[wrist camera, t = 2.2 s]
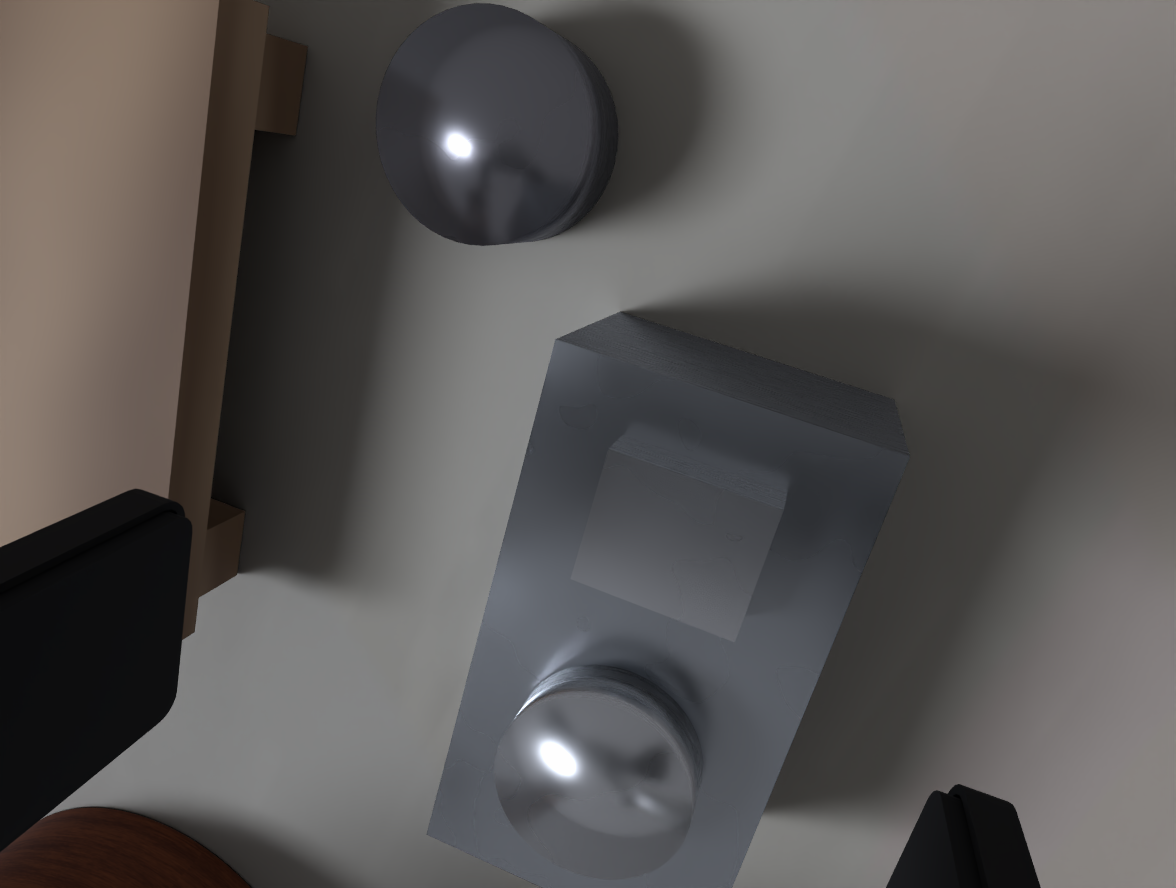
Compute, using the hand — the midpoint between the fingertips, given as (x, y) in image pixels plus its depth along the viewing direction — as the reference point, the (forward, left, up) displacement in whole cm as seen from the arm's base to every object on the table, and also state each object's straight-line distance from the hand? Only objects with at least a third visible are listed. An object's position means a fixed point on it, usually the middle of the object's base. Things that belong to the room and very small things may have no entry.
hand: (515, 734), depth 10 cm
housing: (-1, +1, -7) cm, 7 cm away
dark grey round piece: (+4, -6, -7) cm, 10 cm away
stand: (+14, -1, -7) cm, 16 cm away
